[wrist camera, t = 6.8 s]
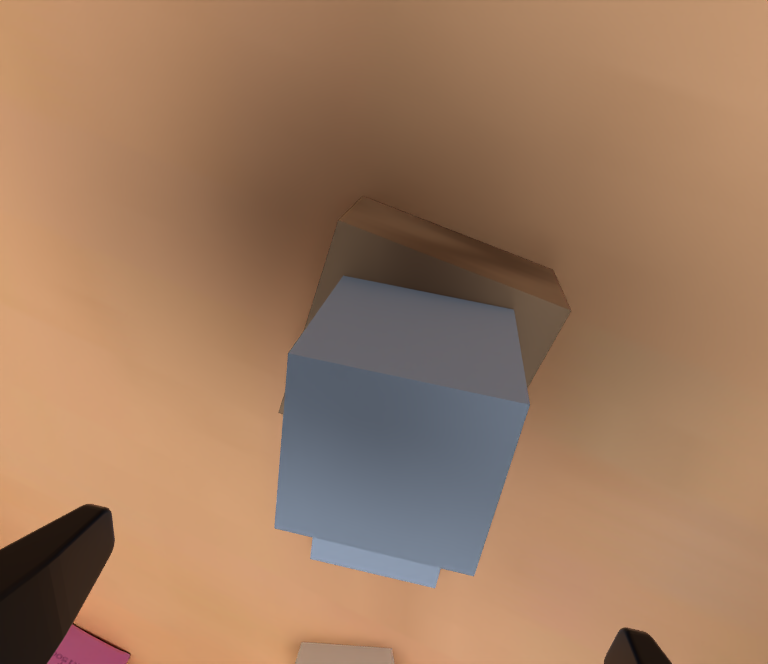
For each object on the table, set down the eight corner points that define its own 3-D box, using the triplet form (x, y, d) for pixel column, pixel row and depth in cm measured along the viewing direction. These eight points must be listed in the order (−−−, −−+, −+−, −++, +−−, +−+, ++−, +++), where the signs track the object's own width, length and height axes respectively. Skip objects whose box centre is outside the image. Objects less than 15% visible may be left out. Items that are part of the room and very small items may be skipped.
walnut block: (552, 267, 18) (571, 310, 15) (471, 420, 21) (471, 486, 18) (364, 194, 18) (338, 220, 15) (311, 358, 21) (278, 412, 18)
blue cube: (513, 309, 15) (529, 404, 10) (474, 448, 17) (473, 576, 13) (343, 275, 15) (288, 353, 11) (326, 415, 18) (274, 528, 13)
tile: (462, 480, 22) (461, 490, 22) (435, 577, 25) (435, 588, 24) (325, 451, 23) (321, 459, 22) (313, 548, 25) (310, 558, 25)
